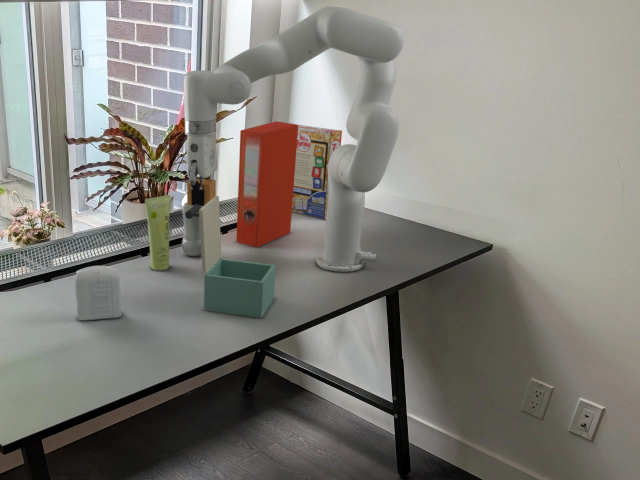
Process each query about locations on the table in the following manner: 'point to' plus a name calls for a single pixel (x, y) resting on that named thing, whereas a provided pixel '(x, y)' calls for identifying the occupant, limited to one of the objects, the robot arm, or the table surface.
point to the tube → (158, 231)
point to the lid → (208, 231)
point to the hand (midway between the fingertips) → (201, 201)
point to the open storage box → (239, 287)
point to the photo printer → (98, 293)
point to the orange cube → (208, 188)
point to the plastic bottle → (190, 231)
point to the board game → (313, 169)
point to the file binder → (266, 182)
